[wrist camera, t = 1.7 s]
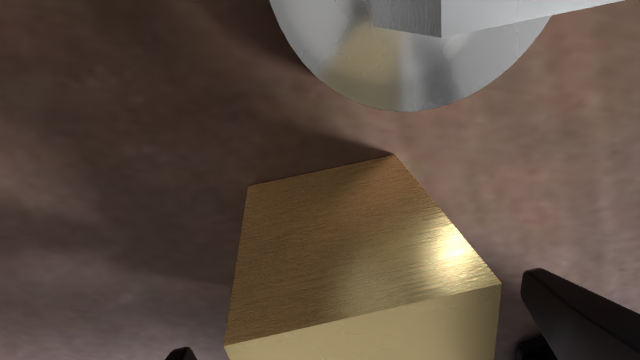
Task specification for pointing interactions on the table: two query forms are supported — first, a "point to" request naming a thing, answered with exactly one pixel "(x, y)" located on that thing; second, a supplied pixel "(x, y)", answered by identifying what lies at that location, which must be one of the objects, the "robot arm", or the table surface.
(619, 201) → the table surface
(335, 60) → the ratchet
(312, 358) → the wooden toy block
